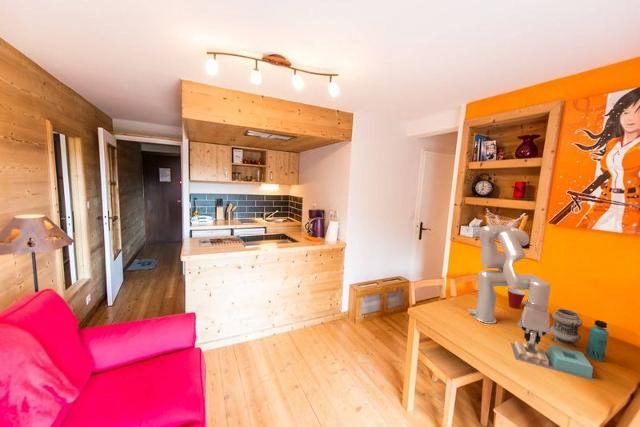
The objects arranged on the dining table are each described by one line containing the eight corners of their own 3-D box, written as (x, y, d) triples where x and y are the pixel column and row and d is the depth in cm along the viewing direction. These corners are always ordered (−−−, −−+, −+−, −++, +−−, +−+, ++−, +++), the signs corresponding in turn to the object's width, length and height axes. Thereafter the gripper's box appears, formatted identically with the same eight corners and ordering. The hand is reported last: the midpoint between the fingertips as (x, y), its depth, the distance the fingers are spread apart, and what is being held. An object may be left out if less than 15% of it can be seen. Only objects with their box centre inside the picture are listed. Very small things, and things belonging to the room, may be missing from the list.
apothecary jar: (549, 334, 150) (554, 304, 148) (579, 343, 141) (584, 312, 139) (547, 342, 141) (552, 311, 139) (578, 353, 133) (584, 320, 131)
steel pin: (527, 347, 128) (529, 330, 126) (526, 344, 130) (528, 327, 129) (535, 350, 126) (538, 332, 125) (534, 346, 129) (536, 329, 128)
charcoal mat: (515, 362, 125) (515, 359, 125) (510, 345, 138) (510, 342, 138) (595, 384, 112) (596, 381, 112) (581, 363, 125) (581, 361, 125)
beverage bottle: (581, 355, 131) (587, 318, 129) (593, 355, 132) (599, 318, 130) (595, 364, 125) (602, 325, 123) (608, 364, 125) (615, 325, 123)
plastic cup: (527, 311, 177) (529, 294, 175) (509, 309, 179) (511, 292, 178) (519, 304, 187) (521, 288, 186) (502, 302, 190) (504, 286, 188)
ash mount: (518, 357, 126) (519, 353, 126) (514, 345, 136) (515, 341, 135) (548, 365, 121) (548, 360, 121) (541, 352, 131) (542, 348, 130)
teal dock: (555, 368, 119) (556, 358, 119) (547, 353, 130) (549, 344, 129) (591, 378, 114) (593, 367, 113) (580, 362, 124) (581, 352, 124)
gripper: (517, 304, 126) (512, 340, 128) (561, 313, 118) (555, 351, 121) (514, 298, 132) (510, 332, 135) (556, 307, 125) (551, 342, 127)
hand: (531, 340), depth 128 cm, fingers closed on steel pin, 3 cm apart
